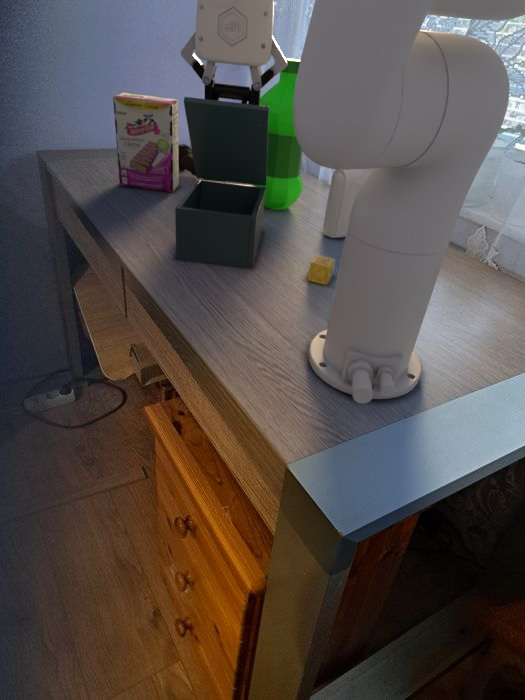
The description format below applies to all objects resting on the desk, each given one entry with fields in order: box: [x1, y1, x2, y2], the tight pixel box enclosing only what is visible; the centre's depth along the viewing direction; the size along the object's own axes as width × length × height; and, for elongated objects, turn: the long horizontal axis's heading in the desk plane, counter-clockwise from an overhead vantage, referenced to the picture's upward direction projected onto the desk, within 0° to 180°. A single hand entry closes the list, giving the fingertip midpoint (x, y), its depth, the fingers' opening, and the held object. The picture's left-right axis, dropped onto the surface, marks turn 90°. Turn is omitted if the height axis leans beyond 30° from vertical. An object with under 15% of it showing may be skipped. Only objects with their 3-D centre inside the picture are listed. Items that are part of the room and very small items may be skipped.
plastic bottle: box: [251, 57, 304, 211], centre depth 89 cm, size 10×10×25 cm
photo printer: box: [322, 169, 370, 239], centre depth 84 cm, size 10×4×12 cm, turn 124°
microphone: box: [178, 143, 226, 182], centre depth 105 cm, size 6×6×20 cm
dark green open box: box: [174, 178, 266, 269], centre depth 76 cm, size 15×12×8 cm
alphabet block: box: [307, 254, 336, 286], centre depth 71 cm, size 3×3×3 cm
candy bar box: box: [112, 92, 180, 193], centre depth 94 cm, size 11×5×16 cm, turn 84°
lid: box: [183, 82, 269, 186], centre depth 73 cm, size 15×12×6 cm
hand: (231, 115), depth 71 cm, fingers closed on lid, 5 cm apart
